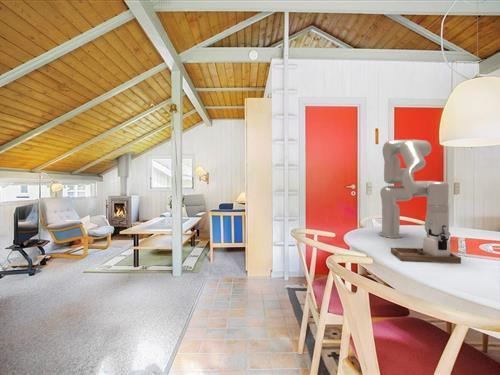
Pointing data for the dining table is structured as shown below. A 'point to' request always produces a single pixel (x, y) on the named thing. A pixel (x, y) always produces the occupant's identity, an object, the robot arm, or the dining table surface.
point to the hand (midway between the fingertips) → (436, 246)
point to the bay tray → (422, 256)
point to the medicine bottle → (434, 245)
